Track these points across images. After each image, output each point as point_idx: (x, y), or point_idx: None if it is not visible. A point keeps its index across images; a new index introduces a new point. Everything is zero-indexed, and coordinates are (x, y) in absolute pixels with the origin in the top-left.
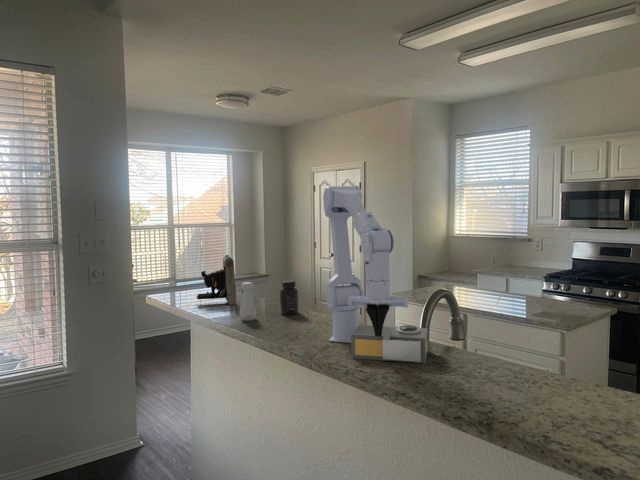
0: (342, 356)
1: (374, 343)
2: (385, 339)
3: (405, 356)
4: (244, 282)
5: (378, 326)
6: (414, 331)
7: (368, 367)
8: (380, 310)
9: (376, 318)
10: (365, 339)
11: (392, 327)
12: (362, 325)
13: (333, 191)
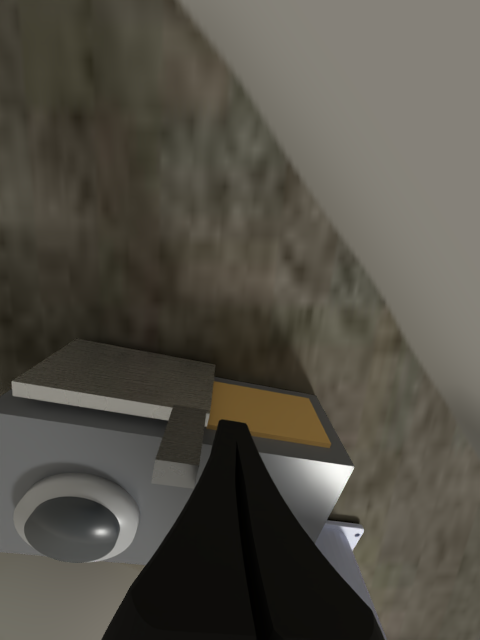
0: (341, 411)
1: (245, 418)
2: (195, 410)
3: (127, 356)
4: None
5: (230, 461)
6: (39, 491)
7: (269, 308)
8: (202, 634)
9: (246, 529)
10: (286, 438)
11: None
12: None
13: None
